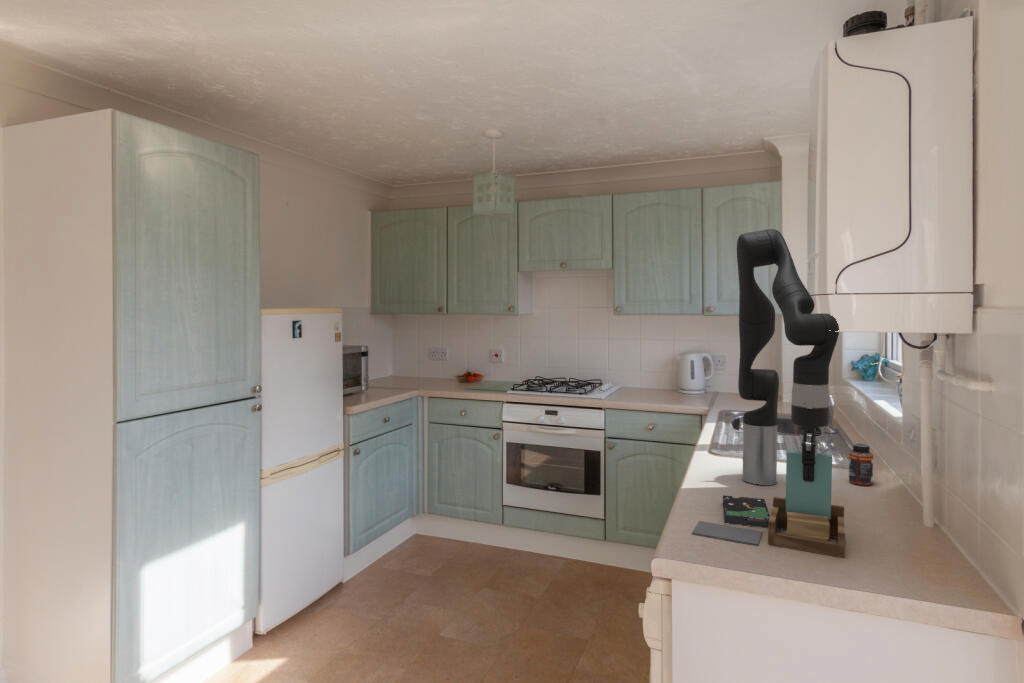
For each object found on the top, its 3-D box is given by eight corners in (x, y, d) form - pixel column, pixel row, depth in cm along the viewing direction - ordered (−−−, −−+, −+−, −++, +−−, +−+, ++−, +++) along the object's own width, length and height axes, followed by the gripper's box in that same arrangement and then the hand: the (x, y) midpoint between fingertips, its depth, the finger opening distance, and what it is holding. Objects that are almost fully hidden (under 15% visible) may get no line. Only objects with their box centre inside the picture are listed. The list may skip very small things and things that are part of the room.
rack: (773, 525, 136) (773, 496, 135) (843, 536, 128) (844, 506, 128) (768, 544, 125) (768, 512, 125) (844, 557, 118) (844, 524, 118)
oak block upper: (786, 524, 129) (787, 511, 129) (827, 529, 126) (827, 516, 125) (787, 532, 124) (787, 519, 124) (829, 538, 121) (829, 524, 121)
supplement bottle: (877, 485, 164) (878, 446, 163) (861, 487, 162) (862, 448, 162) (859, 479, 170) (860, 441, 169) (843, 481, 168) (844, 443, 167)
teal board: (786, 509, 133) (787, 449, 132) (830, 515, 128) (832, 454, 127) (785, 512, 130) (786, 452, 129) (830, 519, 126) (832, 457, 125)
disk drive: (721, 505, 151) (724, 525, 137) (721, 495, 151) (724, 514, 137) (764, 509, 148) (771, 529, 134) (764, 498, 148) (771, 518, 134)
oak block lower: (786, 537, 129) (787, 524, 129) (827, 544, 126) (827, 530, 125) (785, 546, 125) (786, 532, 125) (827, 552, 121) (828, 538, 121)
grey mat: (699, 522, 138) (699, 520, 138) (762, 533, 131) (762, 531, 131) (692, 534, 131) (692, 532, 131) (758, 546, 124) (758, 544, 124)
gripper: (793, 397, 135) (792, 468, 137) (789, 407, 123) (788, 486, 125) (829, 399, 132) (827, 473, 133) (829, 410, 120) (827, 491, 121)
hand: (808, 478), depth 129 cm, fingers closed on teal board, 2 cm apart
